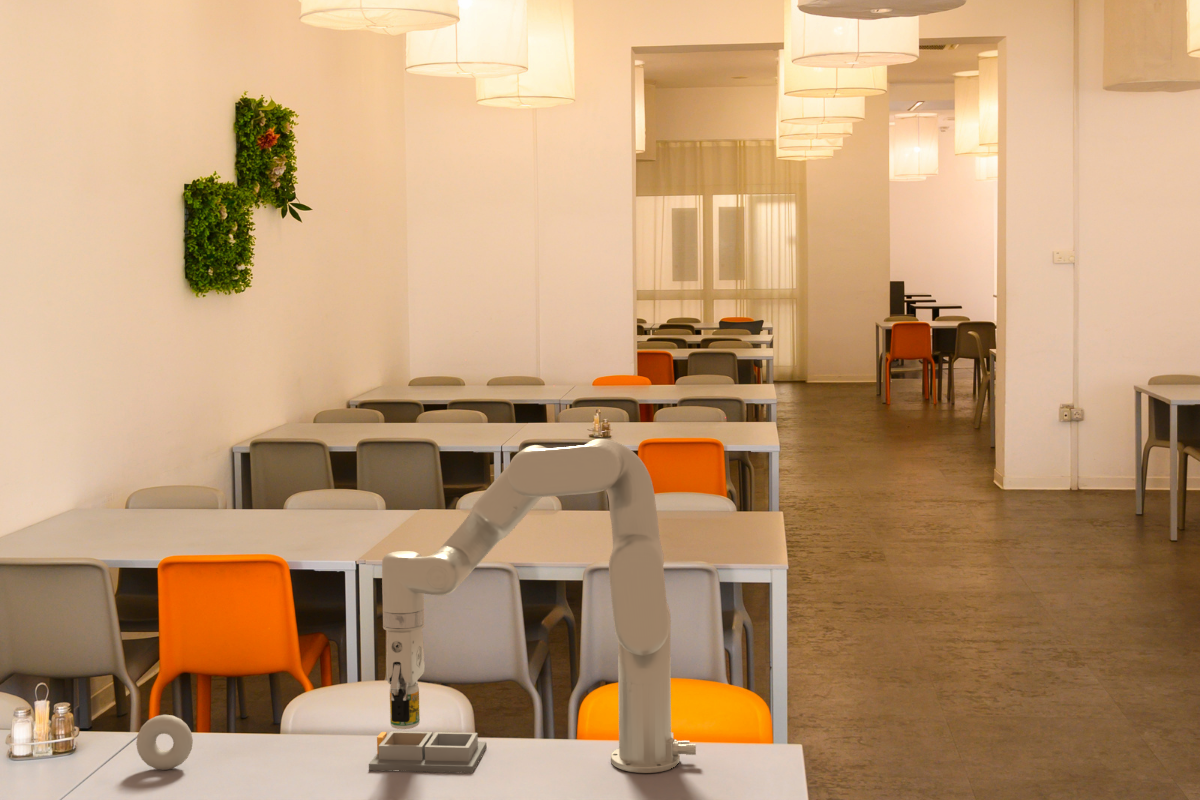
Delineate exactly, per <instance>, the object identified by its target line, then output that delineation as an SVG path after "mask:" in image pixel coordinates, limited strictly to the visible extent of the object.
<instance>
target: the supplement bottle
mask: <svg viewBox="0 0 1200 800" xmlns="http://www.w3.org/2000/svg"><path fill="white" fill-rule="evenodd" d="M400 683H405V680H400ZM400 689H402V690H403V692H404V687H403V686H400ZM391 693H392V692H391V689H390V688H389V711H390V712H389V713H390V714H389V715H390V716H389V717H390V726H391V728H394V729H397V730H411V729H414V728H416V727H418V726H419V725H420V722H421V721H420V688H419V684H418V685H417V684H415V683H414V684H413V685H410V684H409V683H408V698H407V700H409V710H410V720H409V721H408V722H393V721H392V704H391Z"/></svg>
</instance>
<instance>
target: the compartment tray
mask: <svg viewBox="0 0 1200 800" xmlns="http://www.w3.org/2000/svg"><path fill="white" fill-rule="evenodd" d="M387 733H388V731H381V732H380V733H379V734H378V735H377V737H376V749H377V750H376V751H377V753H376V754H375V756H374V757H373V758H372V759H371V761H370V762H369V763H368V771H369V770H392V771H391V772H394V771H393V770H399V771H398V772H409V771H415V773H418V772H419V773H421V772H422V773H424V772H423V771H426V772H425V773H453V772H459V773H460V772H462V774H463V773H464V774H465V773H466V774H468V773H469V774H473V773H474V771H475V769H476V768H477V766H478V764H479V762H480V761H479V759H480V758H481V759H482V757H483V755H484V753H485V752H484V750H485V748H486V749H487V741H478V740H479V738H478V735H479V733H478V732H451V731H449V732H448V731H447V732H446V731H445V732H444V731H442V732H441V731H436V732H434V733H433V731H399V730H398V731H397V730H396V731H394V730H393V731H391V730H390V731H389V733H388V734H387ZM485 751H486V750H485ZM483 752H484V753H483ZM482 754H483V755H482ZM481 756H482V757H481ZM481 759H480V760H481ZM478 761H479V762H478ZM477 763H478V764H477ZM476 765H477V766H476ZM475 767H476V768H475ZM416 771H417V772H416ZM427 771H428V772H427ZM460 774H461V773H460Z"/></svg>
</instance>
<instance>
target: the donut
mask: <svg viewBox="0 0 1200 800" xmlns="http://www.w3.org/2000/svg"><path fill="white" fill-rule="evenodd" d="M163 734H165V735H168V736H169V737H170V738H171V739H172V742H173V744H172V747H171V748H170V749H168V750H164V749H160V748H159V746H158V745H157V738H158V737H159V736H160V735H163ZM193 742H194V739H193V734H192V731H191V729H190V727H189V726H188V724H187V723H186V722H185V721H184V720H182V718H180V717H177V716H175V715H171V714H170V715H169V714H160V715H156V716H154V717H152V718H150V719H147V721H146V722H145V723H144V724H143V725H141V727H140V729H139V732H138V734H137V737H136V742H135V743H136V744H135V745H136V749H137V753H138V756H139V757H140V758H141V760H142V761H143V762H144V763H145V764H146V765H147V766H148V767H151V768H153V769H154V770H162V771H165V770H166V771H167V770H172V769H175V768H176V767H178V766H180V765H182V764H183V763H185V761H186V760H187V759H188V757H189V756H190V754H191V751H192V749H193Z"/></svg>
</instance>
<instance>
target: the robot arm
mask: <svg viewBox="0 0 1200 800" xmlns="http://www.w3.org/2000/svg"><path fill="white" fill-rule="evenodd" d="M603 491H606V493H607V497H608V505H609V516H610V524H611V525H610V526H611V536H612V549H611V552H610V553H611V554H610V557H609V559H608V561H609V562H608V576H609V587H610V596H611V597H610V598H611V605H612V608H611V609H612V618H613V625H614V626H613V628H614V633H615V637H616V639H617V641H618V645H617V647H618V649H617V652H618V653H617V655H618V657H617V659H618V660H617V661H618V663H617V666H618V667H617V671H618V672H617V673H618V677H617V678H618V683H617V684H618V689H617V690H618V748H616V749H615V750H614V751H613V750H612V753H610V763H611V764H612V765H613V766H614V767H615V768H618V769H619V770H622V771H626V772H629V773H638V774H652V773H661V772H666V771H669V770H671V768H672V769H674V768H675V766H676V765H677V764H678V763H679V764H680V762H681V757H680V756H681V755H686V756H696V754H697V752H696V751H697V744H696V743H690V740H677V739H675V738H674V732H672V708H671V707H672V706H671V702H672V701H671V699H672V698H671V696H672V695H671V694H672V693H671V690H672V689H671V688H672V687H671V685H672V683H671V682H672V681H671V677H672V676H671V675H672V674H671V672H672V671H671V665H672V664H671V630H672V629H671V621H672V620H671V609H670V607H669V604H668V601H667V592H666V580H665V570H664V569H665V568H664V562H665V561H664V559H665V558H664V552H663V548H662V544H661V537H660V536H661V535H660V529H659V519H658V511H657V504H656V495H655V491H654V486H653V481H652V478H651V475H650V473H649V471H648V469H647V467H646V465H645V463H644V462H643V461H642V459H641V458H640V457H639V456H638V455H637V454H636V453H635V452H634V451H633V450H632V449H630V448H629V447H628V446H626V445H624V444H622V443H620V442H617V441H614V440H611V439H607V438H596V439H593V440H590V441H588V442H586V443H585V444H584V445H576V446H574V445H573V446H566V447H565V446H564V447H553V448H548V447H546V446H543V445H540V444H539V445H538V444H534V445H533V444H532V445H529V446H527V447H525V448H523V449H522V450H520V451H518V452H517V453H516V454H515V455H514V456H513V457H512V458H511V460H510V463H509V464H508V465H507V466H506V468H504V470H503V471H502V472H501V473H500V474H499V475H498V477H497V478H496V479H495V480H494V481H493V482H492V483H491V485H489V486H488V488H486V489H485V491H484V492H483V493H482V494H481V495H480V496H479V497H478V498H477V500H476V501H475V502H474V503H473V505H472V508H471V510H470V512H469V514H468V516H467V517H466V518H465V519H464V521H462V523H461V524H460V525H459V527H457V529H456V530H455V531H454V532H453V533H452V535H450V536H449V538H448V539H447V540H446V541H445V542H444V543H443V544H442V545H441V546H440V547H439V548H438V549H437V550H436V551H435V552H434V553H433V554H430V555H428V556H423V555H421V554H420V553H419V552H416V551H412V550H401V551H392V552H388V553H387V554H385V555H384V556H383V558H382V561H381V579H382V580H381V583H382V585H381V588H382V628H383V630H385V631H386V632H387V635H386V636H387V637H386V681H387V683H388V684H389V685H390V688H389V690H390V689H391V692H392V693H391V704H392V721H393V722H408V721H409V720H410V710H409V700H407V698H408V683H409V684H410V685H413V684H414V683H415V684H417V685H418V686H419V683H418V680H419V679H420V677H421V676H422V675H424V673H425V668H426V667H425V649H424V637H423V636H424V634H423V628H424V627H425V595H430V596H435V597H436V596H438V597H440V596H441V597H442V596H447V595H450V594H452V593H453V592H455V591H456V590H457V588H458V587H459V586H460V585H461V584H462V583H463V582H464V581H465V580H466V578H468V577H469V575H470V574H471V573H472V571H474V569H476V567H477V566H478V565H479V564H480V563H481V561H483V559H484V558H485V557H487V555H488V554H489V553H490V552H491V551H492V550H493V548H494V547H495V546H497V544H498V543H500V541H502V540H503V539H505V538H506V537H507V536H509V535H510V534H511V532H512V531H513V530H514V529H515V528H516V526H518V525H519V523H520V522H521V521H522V520H523V519H524V518H525V517H526V516H527V515H528V513H530V511H531V510H532V509H533V508H534V507H535V506H536V505H537V504H538V503H539V502H540V501H541V499H542V498H547V497H561V496H570V495H582V494H583V495H584V494H595V493H599V492H603ZM400 680H405V683H400ZM400 686H403V687H404V692H403V690H402V689H400ZM679 761H680V762H679ZM679 764H678V765H679ZM678 765H677V766H678ZM677 766H676V767H677ZM673 767H674V768H673Z"/></svg>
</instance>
